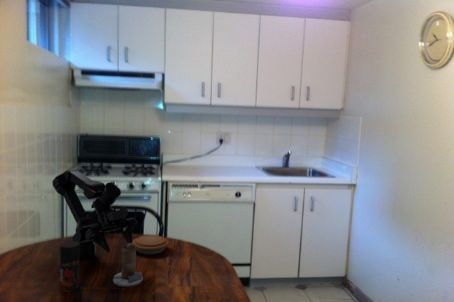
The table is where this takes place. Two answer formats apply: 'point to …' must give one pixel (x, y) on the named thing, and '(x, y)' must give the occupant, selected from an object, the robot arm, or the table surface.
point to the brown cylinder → (128, 260)
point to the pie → (150, 244)
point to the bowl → (131, 281)
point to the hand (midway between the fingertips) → (120, 248)
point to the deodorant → (69, 266)
